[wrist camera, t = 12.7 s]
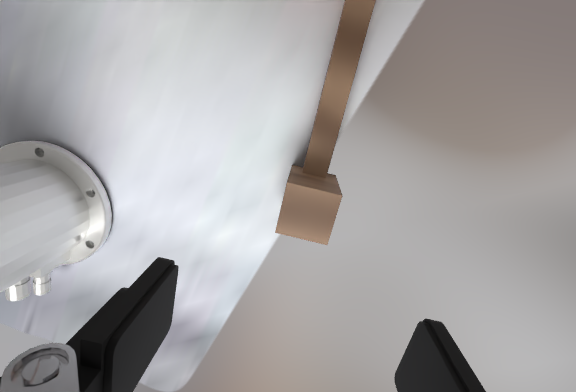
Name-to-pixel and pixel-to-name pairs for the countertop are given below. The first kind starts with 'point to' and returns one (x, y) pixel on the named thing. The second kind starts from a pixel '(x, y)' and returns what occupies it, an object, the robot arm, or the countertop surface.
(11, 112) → the countertop surface
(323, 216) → the crook
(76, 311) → the countertop surface
